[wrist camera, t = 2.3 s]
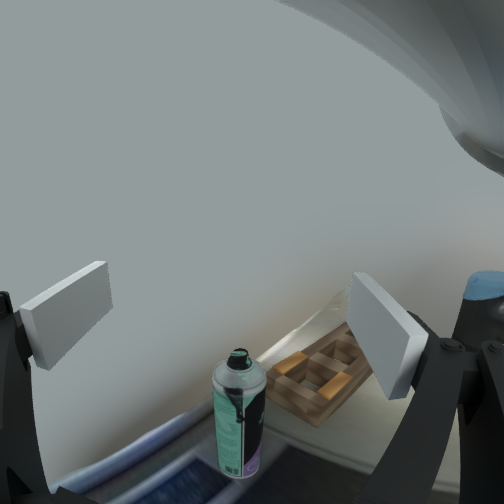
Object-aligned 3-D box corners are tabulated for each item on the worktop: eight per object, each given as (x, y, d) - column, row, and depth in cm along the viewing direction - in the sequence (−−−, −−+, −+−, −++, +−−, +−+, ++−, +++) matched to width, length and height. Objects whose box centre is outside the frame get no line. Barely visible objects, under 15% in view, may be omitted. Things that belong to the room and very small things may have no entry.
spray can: (264, 475, 30) (276, 364, 25) (223, 482, 28) (215, 372, 23) (253, 447, 35) (259, 335, 30) (215, 452, 33) (207, 340, 29)
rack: (392, 349, 59) (397, 329, 58) (316, 427, 39) (322, 404, 37) (350, 334, 68) (353, 314, 66) (262, 394, 47) (264, 371, 46)
